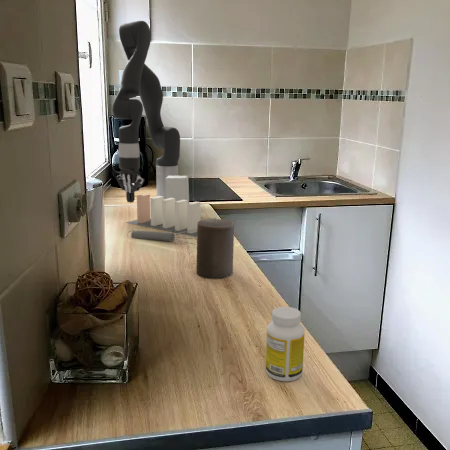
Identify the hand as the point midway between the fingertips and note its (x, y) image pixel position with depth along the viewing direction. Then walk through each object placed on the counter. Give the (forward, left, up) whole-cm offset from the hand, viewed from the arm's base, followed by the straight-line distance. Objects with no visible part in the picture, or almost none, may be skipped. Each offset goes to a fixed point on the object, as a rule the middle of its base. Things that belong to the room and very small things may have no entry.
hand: (130, 202), depth 181 cm
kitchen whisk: (+14, +32, -8) cm, 36 cm away
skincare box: (-17, +9, -7) cm, 20 cm away
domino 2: (0, +13, -7) cm, 14 cm away
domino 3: (0, +18, -7) cm, 19 cm away
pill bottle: (+63, +95, -7) cm, 114 cm away
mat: (0, +18, -7) cm, 19 cm away
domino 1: (0, +6, -7) cm, 9 cm away
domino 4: (0, +24, -7) cm, 25 cm away
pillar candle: (+29, +58, -7) cm, 65 cm away
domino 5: (0, +29, -7) cm, 30 cm away
